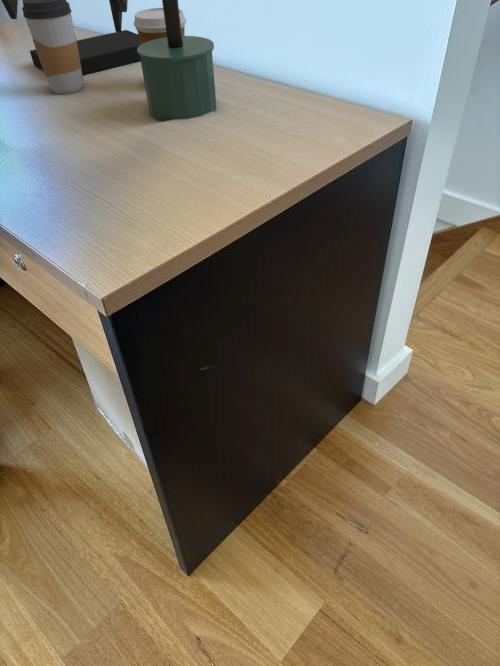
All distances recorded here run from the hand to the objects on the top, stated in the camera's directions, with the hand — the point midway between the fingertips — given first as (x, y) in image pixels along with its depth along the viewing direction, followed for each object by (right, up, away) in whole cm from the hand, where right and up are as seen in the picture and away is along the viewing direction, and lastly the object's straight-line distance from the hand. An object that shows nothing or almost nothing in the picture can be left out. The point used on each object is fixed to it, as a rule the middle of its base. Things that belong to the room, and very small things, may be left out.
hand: (67, 16), depth 69 cm
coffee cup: (-11, +5, +31) cm, 33 cm away
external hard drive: (-9, +17, +43) cm, 47 cm away
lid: (+13, +3, +14) cm, 19 cm away
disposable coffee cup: (+9, +5, +30) cm, 32 cm away
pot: (+13, -4, +20) cm, 24 cm away
